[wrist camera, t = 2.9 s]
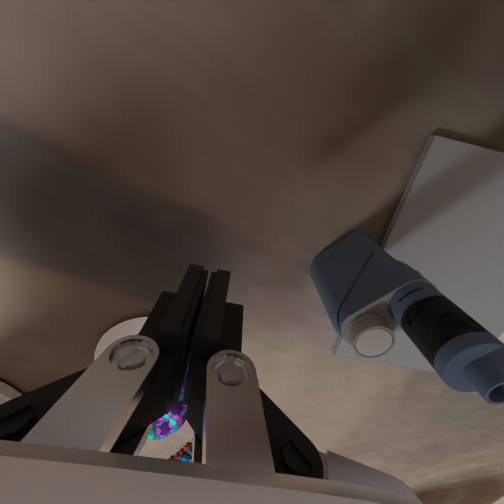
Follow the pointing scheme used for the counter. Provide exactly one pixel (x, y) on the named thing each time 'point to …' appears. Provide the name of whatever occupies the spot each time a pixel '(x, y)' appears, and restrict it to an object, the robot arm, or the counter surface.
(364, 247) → the vaping device
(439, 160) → the grey flat slab
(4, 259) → the counter surface
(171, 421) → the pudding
